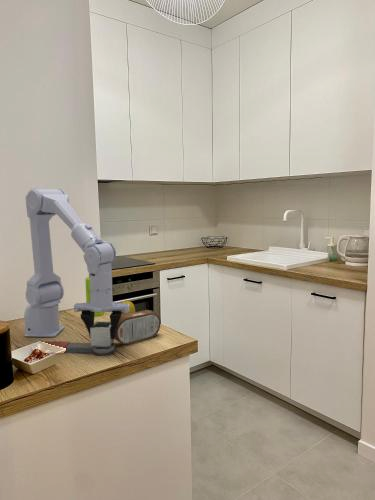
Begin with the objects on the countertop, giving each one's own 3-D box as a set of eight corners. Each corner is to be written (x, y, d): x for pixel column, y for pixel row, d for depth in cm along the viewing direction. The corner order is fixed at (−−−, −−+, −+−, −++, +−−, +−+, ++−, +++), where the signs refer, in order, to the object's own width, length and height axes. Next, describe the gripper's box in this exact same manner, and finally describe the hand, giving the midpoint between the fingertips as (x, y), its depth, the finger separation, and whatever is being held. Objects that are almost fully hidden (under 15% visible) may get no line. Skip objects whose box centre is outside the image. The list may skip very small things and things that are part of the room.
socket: (90, 346, 97) (90, 327, 96) (96, 338, 102) (95, 321, 101) (110, 346, 97) (109, 328, 96) (114, 338, 102) (114, 321, 101)
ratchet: (33, 355, 98) (32, 340, 97) (43, 346, 103) (42, 331, 103) (112, 356, 97) (111, 341, 96) (117, 347, 103) (116, 332, 102)
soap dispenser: (93, 318, 126) (91, 261, 123) (83, 313, 131) (81, 258, 128) (108, 314, 130) (106, 259, 127) (98, 310, 135) (96, 256, 132)
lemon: (132, 326, 118) (131, 302, 117) (116, 325, 119) (115, 301, 118) (137, 321, 124) (137, 298, 122) (122, 320, 125) (121, 297, 123)
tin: (156, 333, 113) (156, 306, 112) (162, 336, 111) (162, 309, 109) (111, 344, 104) (110, 316, 103) (116, 348, 102) (115, 319, 100)
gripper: (68, 292, 93) (71, 342, 95) (125, 292, 93) (126, 343, 95) (78, 285, 100) (80, 332, 102) (130, 285, 100) (131, 333, 102)
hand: (102, 337), depth 99 cm, fingers closed on socket, 5 cm apart
